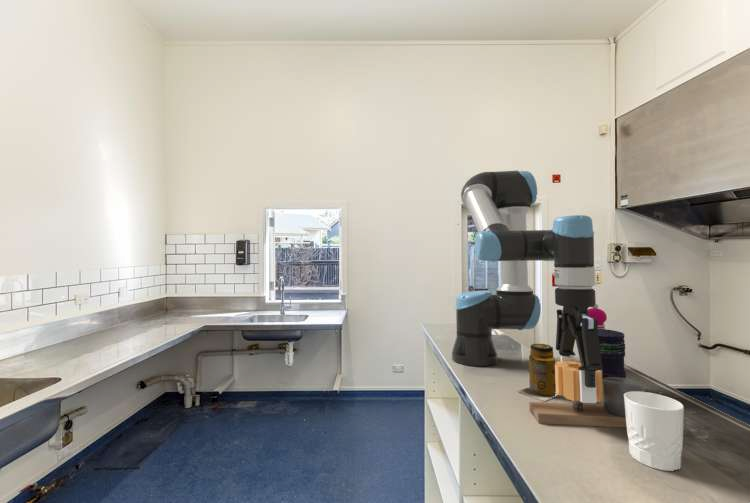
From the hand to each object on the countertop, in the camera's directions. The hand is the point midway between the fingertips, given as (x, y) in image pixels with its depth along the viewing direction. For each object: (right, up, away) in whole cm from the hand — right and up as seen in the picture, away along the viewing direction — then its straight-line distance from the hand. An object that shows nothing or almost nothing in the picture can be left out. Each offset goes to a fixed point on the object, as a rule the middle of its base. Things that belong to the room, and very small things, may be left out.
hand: (577, 393), depth 72 cm
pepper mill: (+27, -6, +35) cm, 44 cm away
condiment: (-1, -6, +14) cm, 16 cm away
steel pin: (0, -3, 0) cm, 3 cm away
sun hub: (+9, -3, -1) cm, 10 cm away
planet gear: (0, 0, 0) cm, 0 cm away
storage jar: (+16, -6, +16) cm, 24 cm away
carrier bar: (+2, -5, 0) cm, 6 cm away
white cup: (+4, -5, -15) cm, 16 cm away
